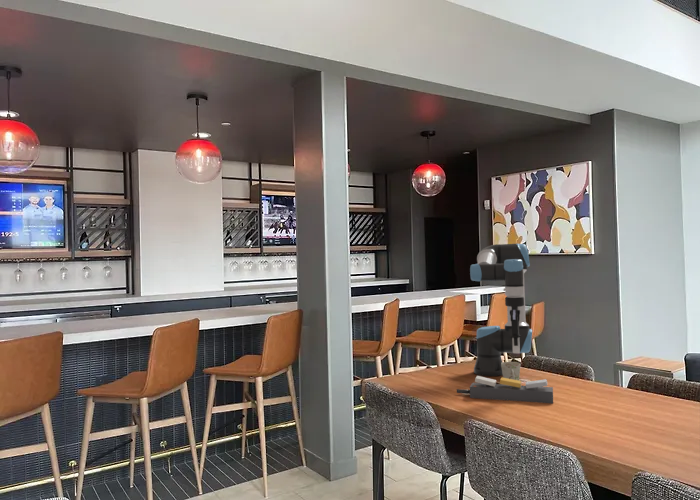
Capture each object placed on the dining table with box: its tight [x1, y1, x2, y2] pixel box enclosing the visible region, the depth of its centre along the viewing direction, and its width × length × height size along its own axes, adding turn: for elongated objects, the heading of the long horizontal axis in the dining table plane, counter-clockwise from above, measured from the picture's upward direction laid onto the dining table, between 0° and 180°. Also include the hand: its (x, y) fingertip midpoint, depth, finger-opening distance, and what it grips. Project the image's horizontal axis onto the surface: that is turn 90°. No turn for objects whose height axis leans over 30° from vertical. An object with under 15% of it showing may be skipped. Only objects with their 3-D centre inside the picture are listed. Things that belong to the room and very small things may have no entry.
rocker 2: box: [499, 376, 522, 388], centre depth 216 cm, size 5×8×2 cm, turn 69°
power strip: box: [456, 382, 554, 404], centre depth 217 cm, size 8×38×5 cm, turn 69°
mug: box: [501, 361, 521, 381], centre depth 235 cm, size 8×13×10 cm, turn 174°
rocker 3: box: [525, 378, 548, 389], centre depth 212 cm, size 5×8×2 cm, turn 69°
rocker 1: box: [474, 375, 497, 387], centre depth 219 cm, size 5×8×2 cm, turn 69°
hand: (516, 353), depth 220 cm, fingers closed
